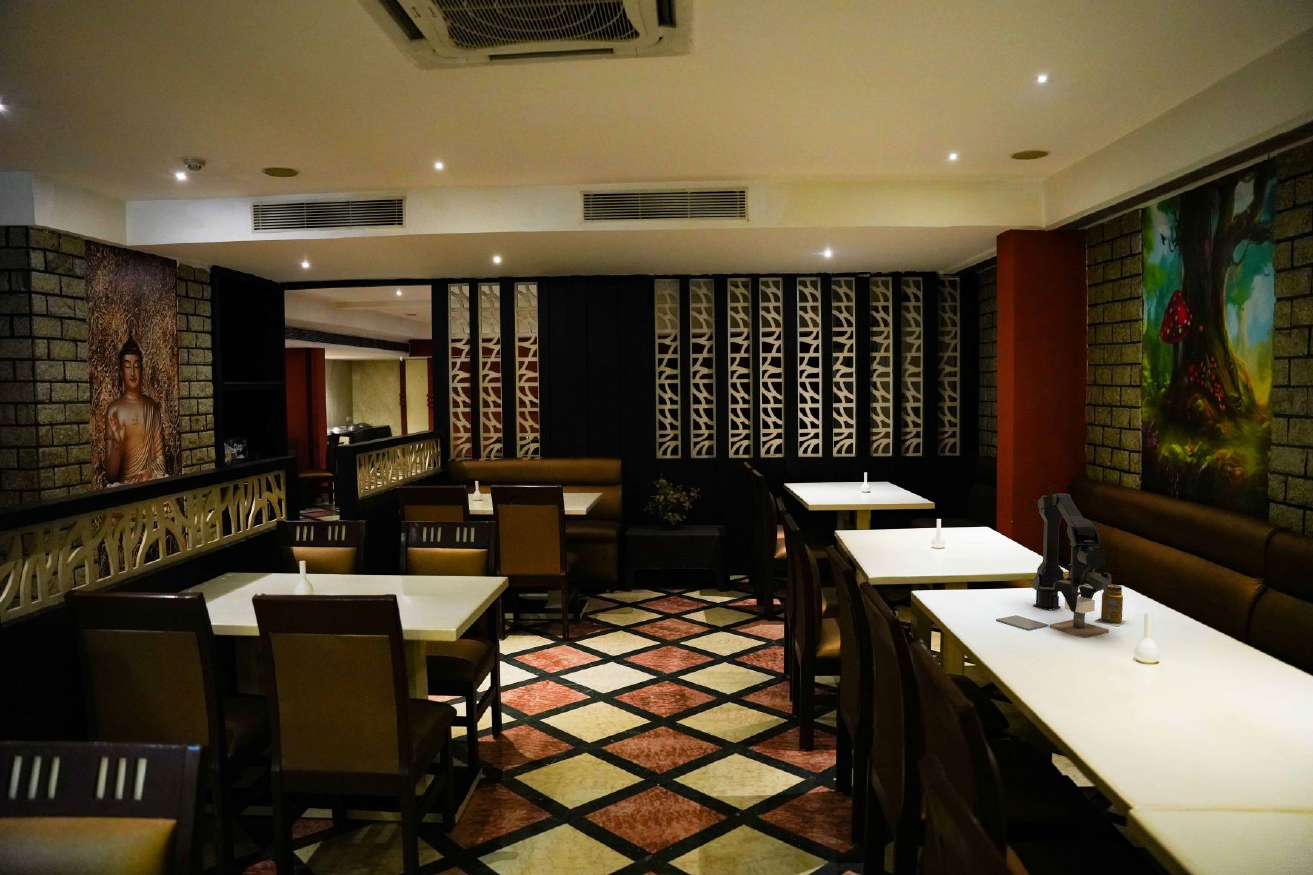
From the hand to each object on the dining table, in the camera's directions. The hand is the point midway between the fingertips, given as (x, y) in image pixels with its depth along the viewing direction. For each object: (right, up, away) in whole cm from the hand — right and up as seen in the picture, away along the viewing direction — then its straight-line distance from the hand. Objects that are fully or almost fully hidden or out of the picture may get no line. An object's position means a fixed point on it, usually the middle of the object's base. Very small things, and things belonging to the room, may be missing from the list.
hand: (1079, 610), depth 250 cm
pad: (-15, -6, +7) cm, 18 cm away
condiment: (+15, -6, +10) cm, 19 cm away
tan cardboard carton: (0, 0, 0) cm, 0 cm away
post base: (0, -6, 0) cm, 6 cm away
